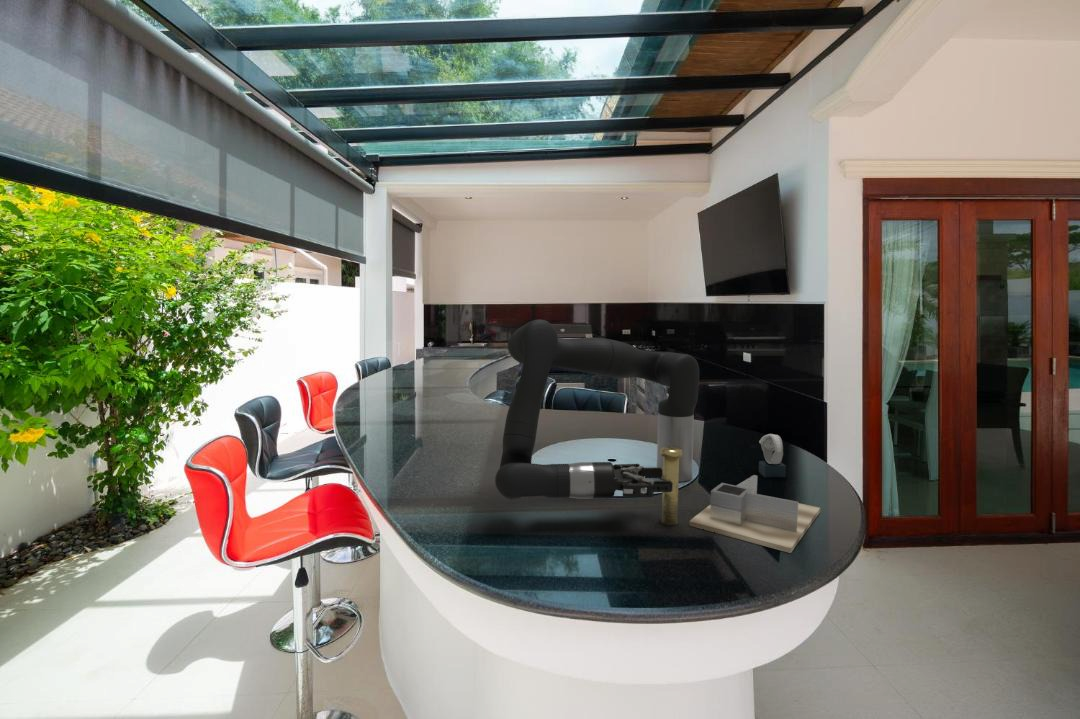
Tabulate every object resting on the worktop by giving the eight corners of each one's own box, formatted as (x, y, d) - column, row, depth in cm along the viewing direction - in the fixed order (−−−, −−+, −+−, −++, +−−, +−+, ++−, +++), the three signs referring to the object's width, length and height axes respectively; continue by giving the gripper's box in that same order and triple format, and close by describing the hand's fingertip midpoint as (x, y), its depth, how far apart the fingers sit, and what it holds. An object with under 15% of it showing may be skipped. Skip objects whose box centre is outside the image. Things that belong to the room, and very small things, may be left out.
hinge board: (730, 492, 133) (730, 488, 133) (820, 512, 121) (820, 507, 120) (689, 525, 114) (689, 521, 113) (790, 553, 101) (790, 548, 101)
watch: (775, 469, 150) (777, 431, 149) (788, 479, 142) (790, 438, 141) (755, 469, 151) (757, 431, 149) (767, 479, 143) (768, 438, 141)
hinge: (735, 496, 128) (736, 471, 127) (810, 512, 118) (812, 486, 117) (709, 517, 115) (710, 490, 114) (791, 538, 105) (792, 509, 104)
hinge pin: (664, 516, 118) (666, 445, 117) (683, 521, 116) (685, 448, 114) (655, 522, 115) (657, 449, 113) (674, 528, 112) (676, 453, 110)
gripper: (594, 473, 106) (676, 472, 107) (586, 453, 121) (658, 452, 121) (594, 510, 107) (675, 509, 108) (586, 485, 121) (658, 484, 122)
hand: (666, 479), depth 114 cm, fingers open, 8 cm apart
